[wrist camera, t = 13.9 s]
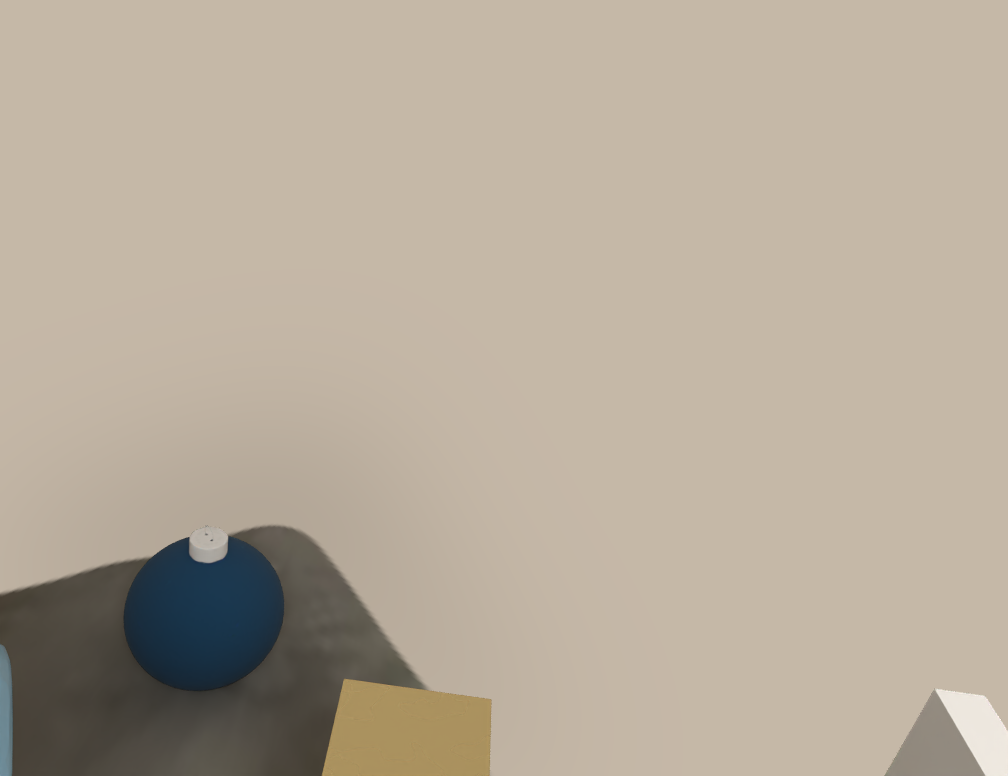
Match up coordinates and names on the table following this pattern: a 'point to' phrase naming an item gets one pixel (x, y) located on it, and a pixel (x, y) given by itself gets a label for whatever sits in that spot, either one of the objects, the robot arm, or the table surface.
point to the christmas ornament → (204, 611)
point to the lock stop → (408, 733)
